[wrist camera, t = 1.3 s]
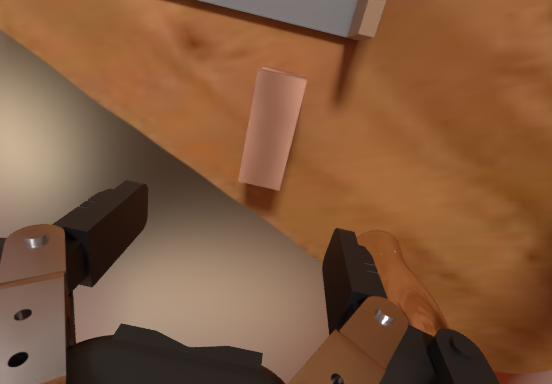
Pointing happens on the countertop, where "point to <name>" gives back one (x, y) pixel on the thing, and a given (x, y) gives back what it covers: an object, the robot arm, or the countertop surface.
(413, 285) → the beer glass
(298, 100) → the block
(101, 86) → the countertop surface
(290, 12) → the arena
